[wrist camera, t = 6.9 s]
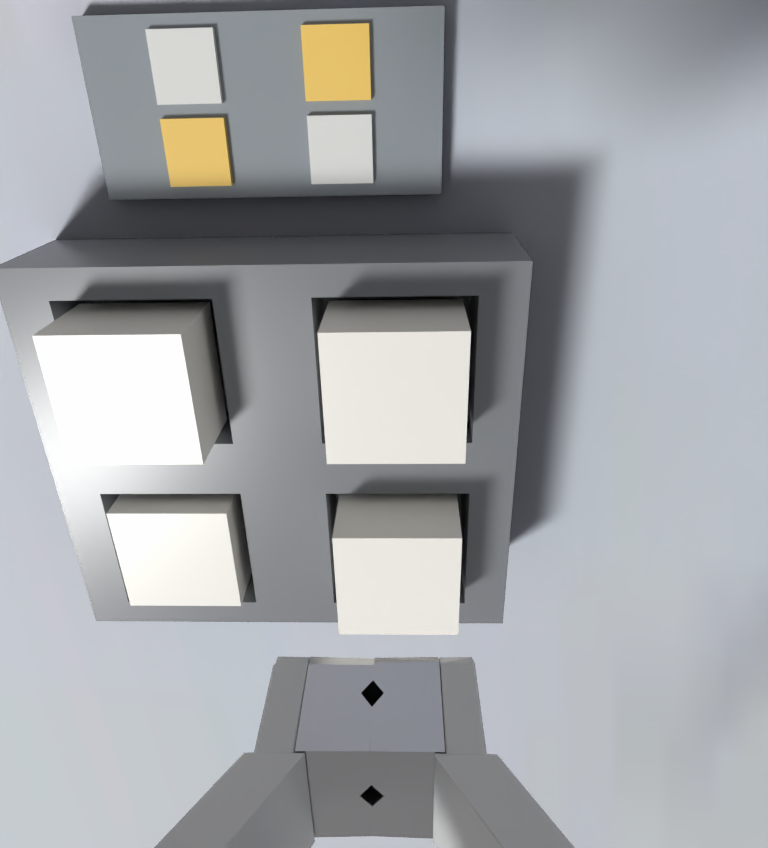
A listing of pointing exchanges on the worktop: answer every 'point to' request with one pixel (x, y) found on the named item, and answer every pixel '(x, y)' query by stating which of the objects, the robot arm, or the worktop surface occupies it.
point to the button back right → (397, 563)
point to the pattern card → (267, 102)
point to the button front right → (395, 381)
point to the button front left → (134, 382)
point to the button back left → (181, 548)
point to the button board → (287, 400)
